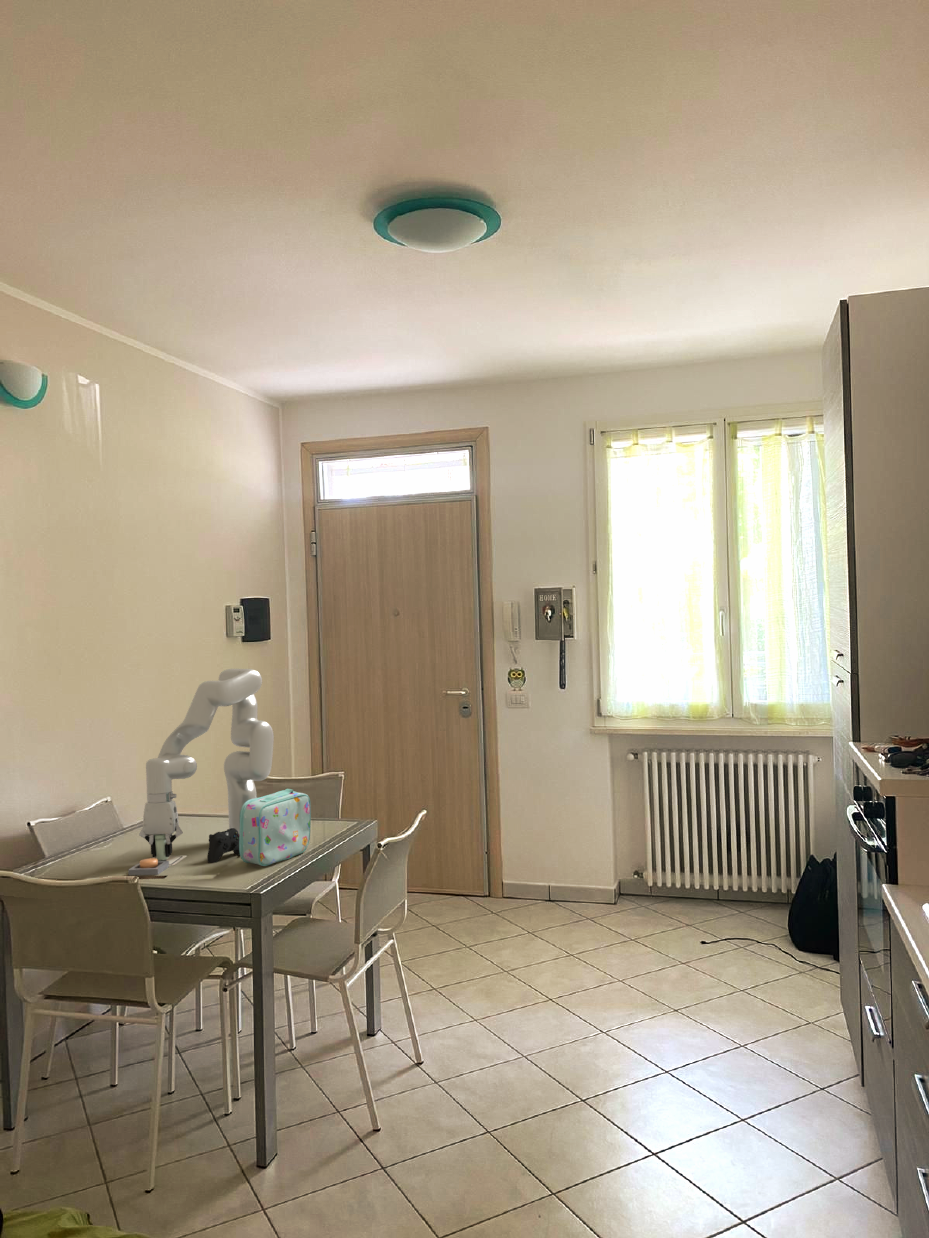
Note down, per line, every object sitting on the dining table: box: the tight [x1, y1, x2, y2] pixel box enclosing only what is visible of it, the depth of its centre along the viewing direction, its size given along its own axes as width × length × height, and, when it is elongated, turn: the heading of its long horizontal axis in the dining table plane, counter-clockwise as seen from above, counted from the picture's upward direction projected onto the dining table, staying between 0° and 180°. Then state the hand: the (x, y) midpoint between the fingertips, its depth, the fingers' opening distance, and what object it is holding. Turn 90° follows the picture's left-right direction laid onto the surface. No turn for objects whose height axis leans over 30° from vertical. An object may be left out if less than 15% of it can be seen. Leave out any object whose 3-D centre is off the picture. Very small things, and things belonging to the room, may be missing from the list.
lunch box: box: [239, 788, 312, 867], centre depth 299 cm, size 27×10×21 cm, turn 152°
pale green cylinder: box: [155, 835, 168, 861], centre depth 295 cm, size 4×4×9 cm
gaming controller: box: [206, 828, 240, 864], centre depth 298 cm, size 14×6×10 cm, turn 148°
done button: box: [139, 857, 158, 868], centre depth 285 cm, size 5×5×2 cm
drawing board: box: [137, 854, 188, 880], centre depth 292 cm, size 13×24×1 cm, turn 177°
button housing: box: [127, 861, 170, 876], centre depth 285 cm, size 9×9×2 cm
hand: (161, 855), depth 294 cm, fingers closed on pale green cylinder, 3 cm apart
